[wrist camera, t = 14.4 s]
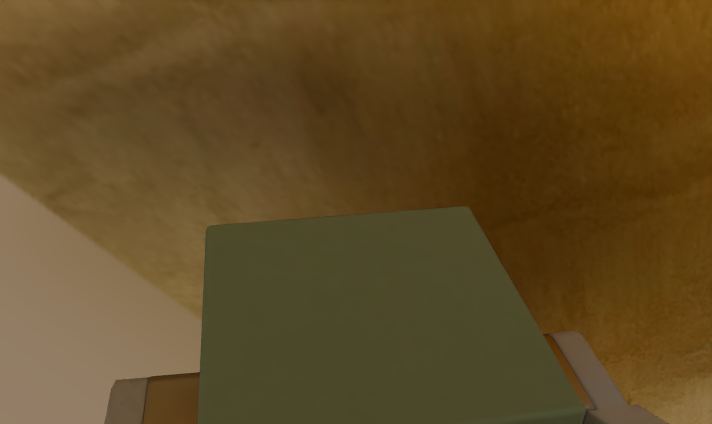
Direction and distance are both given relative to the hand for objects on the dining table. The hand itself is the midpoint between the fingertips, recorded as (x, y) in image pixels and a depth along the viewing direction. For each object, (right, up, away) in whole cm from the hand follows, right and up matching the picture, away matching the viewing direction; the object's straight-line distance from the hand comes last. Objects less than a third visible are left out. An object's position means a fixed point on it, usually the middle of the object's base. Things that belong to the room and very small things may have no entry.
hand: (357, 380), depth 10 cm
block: (0, +1, +1) cm, 2 cm away
